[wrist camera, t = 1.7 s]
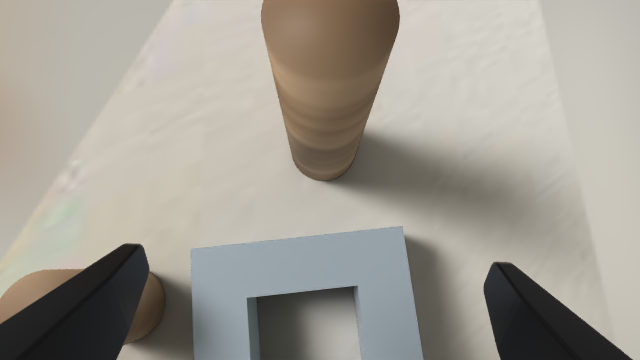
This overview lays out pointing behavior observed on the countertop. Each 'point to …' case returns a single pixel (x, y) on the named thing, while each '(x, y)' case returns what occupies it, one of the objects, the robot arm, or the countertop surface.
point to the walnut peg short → (48, 280)
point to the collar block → (305, 275)
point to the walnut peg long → (327, 74)
